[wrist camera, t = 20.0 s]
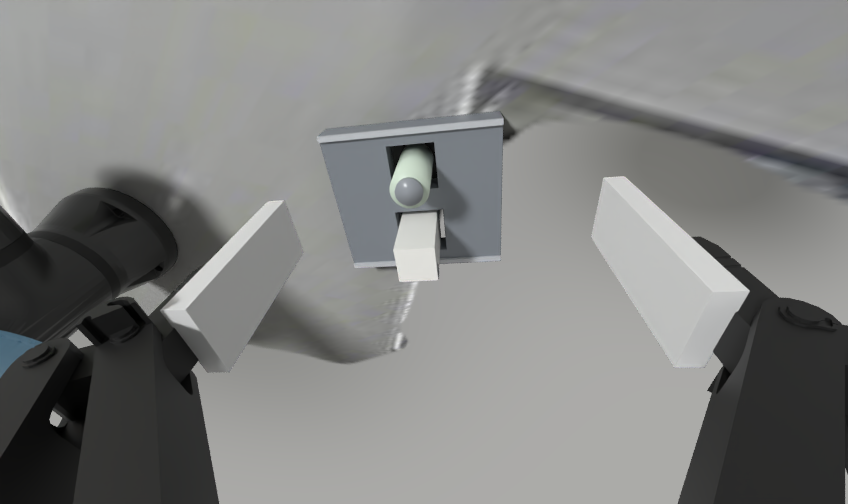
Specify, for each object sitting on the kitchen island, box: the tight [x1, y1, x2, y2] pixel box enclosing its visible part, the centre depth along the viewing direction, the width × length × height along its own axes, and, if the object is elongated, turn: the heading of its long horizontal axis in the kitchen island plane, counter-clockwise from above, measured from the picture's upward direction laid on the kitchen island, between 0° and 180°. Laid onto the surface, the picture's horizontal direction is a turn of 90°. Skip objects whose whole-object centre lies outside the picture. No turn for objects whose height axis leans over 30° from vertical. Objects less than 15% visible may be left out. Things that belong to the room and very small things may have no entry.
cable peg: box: [390, 143, 434, 209], centre depth 37 cm, size 4×4×10 cm
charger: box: [393, 210, 441, 282], centre depth 41 cm, size 5×4×10 cm
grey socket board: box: [316, 111, 504, 268], centre depth 42 cm, size 20×18×3 cm
